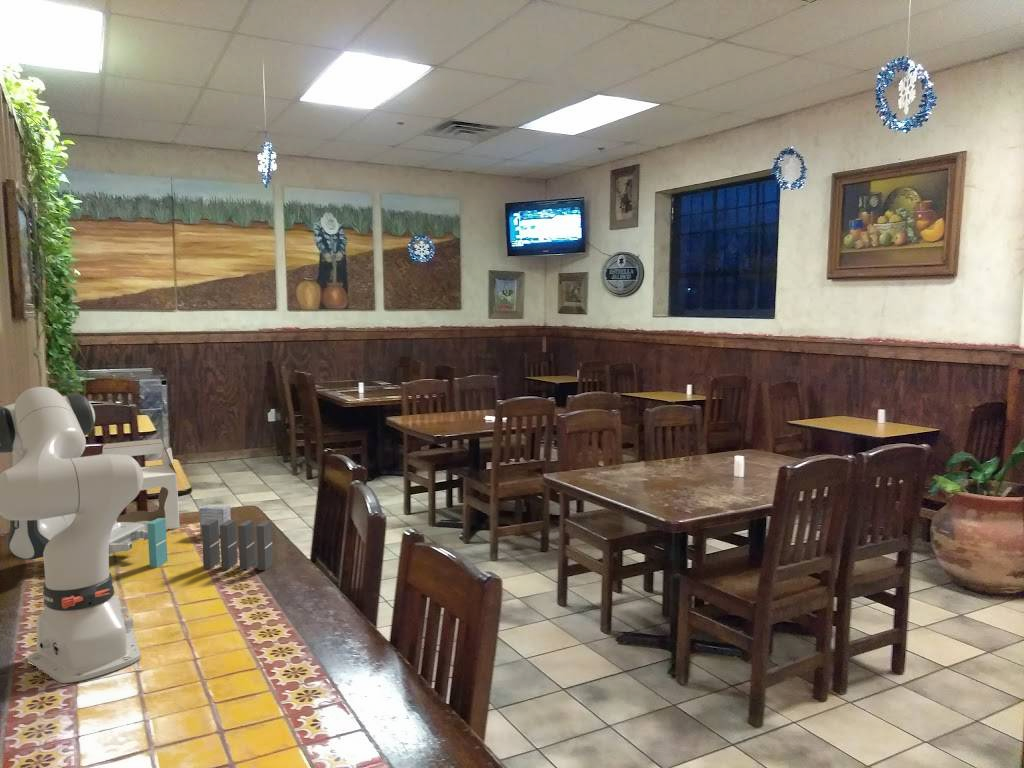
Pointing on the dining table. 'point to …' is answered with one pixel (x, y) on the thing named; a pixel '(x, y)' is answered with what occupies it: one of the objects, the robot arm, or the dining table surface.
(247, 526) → the black domino
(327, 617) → the dining table surface
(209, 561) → the black domino
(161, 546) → the teal domino
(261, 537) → the black domino
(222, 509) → the medicine box
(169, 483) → the gable box
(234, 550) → the black domino
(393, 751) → the dining table surface
